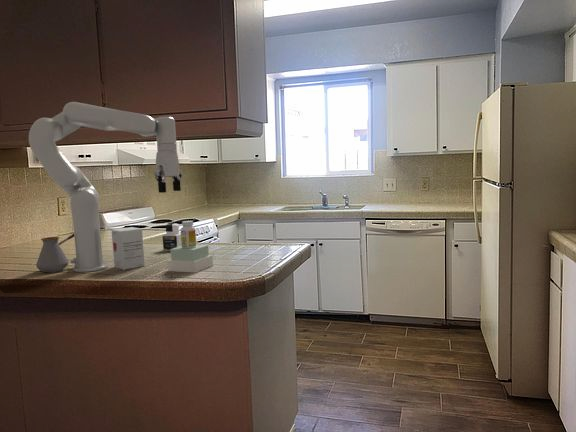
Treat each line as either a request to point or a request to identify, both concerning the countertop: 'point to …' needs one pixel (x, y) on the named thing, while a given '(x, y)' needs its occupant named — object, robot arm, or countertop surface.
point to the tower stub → (190, 259)
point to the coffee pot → (52, 255)
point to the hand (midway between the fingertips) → (169, 191)
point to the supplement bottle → (188, 235)
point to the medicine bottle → (171, 237)
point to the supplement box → (128, 248)
